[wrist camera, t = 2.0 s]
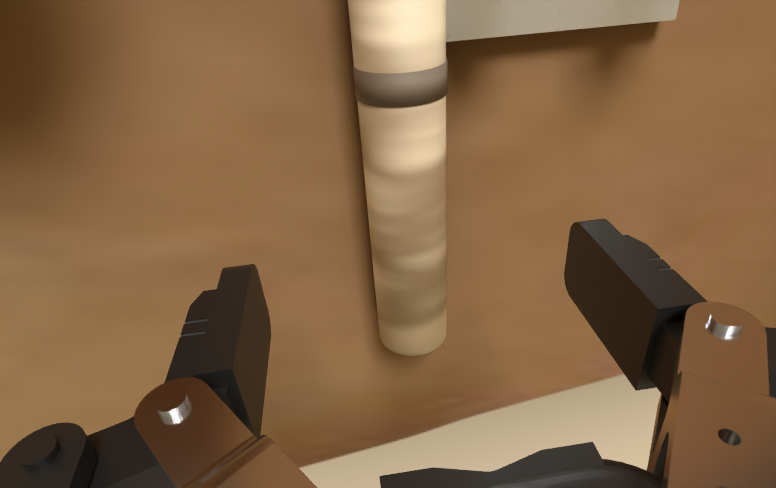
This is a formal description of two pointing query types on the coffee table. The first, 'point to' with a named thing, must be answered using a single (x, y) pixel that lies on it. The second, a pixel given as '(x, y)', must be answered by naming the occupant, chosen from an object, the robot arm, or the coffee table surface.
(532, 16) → the white peg stand
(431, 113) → the dowel
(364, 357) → the coffee table surface
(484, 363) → the coffee table surface
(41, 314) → the coffee table surface
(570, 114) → the coffee table surface
